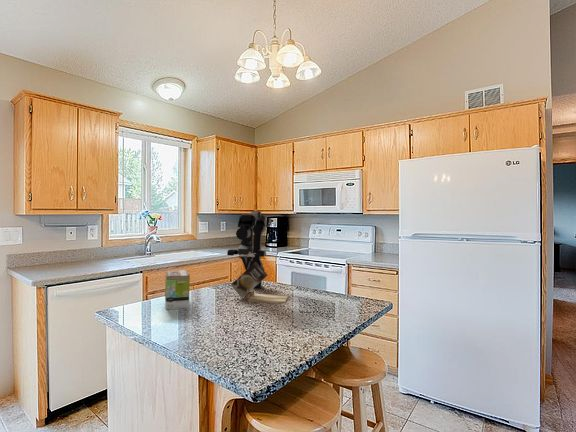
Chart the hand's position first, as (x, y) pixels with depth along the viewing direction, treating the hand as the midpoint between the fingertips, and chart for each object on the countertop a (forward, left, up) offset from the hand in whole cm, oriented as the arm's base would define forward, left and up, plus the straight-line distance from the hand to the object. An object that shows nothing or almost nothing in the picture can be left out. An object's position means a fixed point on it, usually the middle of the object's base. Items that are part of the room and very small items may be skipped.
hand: (246, 270), depth 165 cm
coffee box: (0, -4, -10) cm, 11 cm away
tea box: (+18, -28, -14) cm, 36 cm away
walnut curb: (0, +2, -14) cm, 14 cm away
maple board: (+1, +12, -14) cm, 18 cm away
